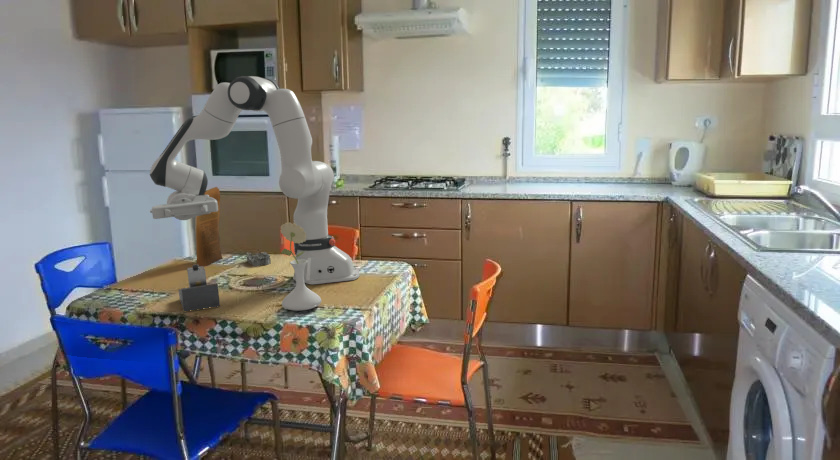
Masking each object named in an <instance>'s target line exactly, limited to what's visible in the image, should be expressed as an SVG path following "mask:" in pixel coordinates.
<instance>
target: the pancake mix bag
mask: <svg viewBox="0 0 840 460" xmlns="http://www.w3.org/2000/svg"><path fill="white" fill-rule="evenodd" d="M204 195H209V197H212V198H214V199H216V200H217V203H218V211H217V212H211V213H210V214H205V215H200V216H196V217H194V218H195V220H194V221H195V222H194V224H195V225H194V226H195V228H194V230H195V231H194V232H195V234H194V235H195V251H196V255H195V256H196V264H199V267H200V266H203V267H208V266H210V265H212V264H214V263H216V262H217V261H220V260H223V254H222V246H221V237H220V230H219V226H220V223H219V222H220V217H221V212H220V211H221V209H220V206H221V205H220V204H221V192H220V189H219V188H218V186H215V187H212V188H210V189H206V191H205V194H204Z"/></svg>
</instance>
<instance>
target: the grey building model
mask: <svg viewBox="0 0 840 460" xmlns="http://www.w3.org/2000/svg"><path fill="white" fill-rule="evenodd" d="M245 253H246V254H247V255H246V260H247V263H249V265H252V267H260V266H264V265H265V266H268V265H270V264H271V254H269V253H267V251H264V252H259V253H254V255H253V254H252V253H251V252H247V251H246V252H245Z"/></svg>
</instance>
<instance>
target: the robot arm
mask: <svg viewBox="0 0 840 460" xmlns="http://www.w3.org/2000/svg"><path fill="white" fill-rule="evenodd" d="M243 110H244V111H252V112H262V111H264V112H265V113H266V114H267V116H268V118H269V119H270V122H271V126H272V129H273V133H274V135H275V136H274V137H275V139H276V143H277V145H278V148H279V155H280V162H281V164H280V165H281V174H280V176H279V180H278V185H279V188H280V191H281V192H282V193H283V195H284V196H286V197H287V198H291V199H297V205H296V207H295V210H294V212H293V223H295V224H296V225H297V226H300V227H301V228H303V229H304V230H303V231H304V232H306V235H307V236H306V239H305V240H306V241H305V242H303V243H300V244H298V243H294V242H293V251H294V252H293V253H294V255H295V258H296V259H297V260H307V261H308V262H307V263H306V265H305V268H304V283H305V284H308V285H320V284H329V283H338V282H347V281H354V280H356V279H358V278H359V277H360V275H361V274H360V273H361V272H360V270H359V268H357V267H354V265H353V261H352V258H351V257H350V255H349V254H348V253H346V252H345V251H343V250H342V249H340V248H338V247H337V246H336V239H335V237H334V236H333V235H329V230H328V229H329V227H328V205H329V199H330V193H331V187H332V185H333V183H334V180H335V175H334V174H335V173H334V170H333V168H332V167H331V165H329V164H328V163H326V162H323V161H320V160H313V159H312V145H313V138H312V137H313V136H312V135H311V131H310V127H309V125H308V122H307V119H306V115H305V112H304V111H303V108H302V106H301V103H300V101H299V100H298V97H297V95H296V94H295V92H294V91H293V90H291V89H289V88H280V87H279V86H278V84H277V83H276V82H274V81H273V80H271V79H269V78H266V77H265V78H264V77H260V76H253V75H251V76H250V75H247V76H246V75H245V76H244V75H241V76H238V77H236V78H234V79H233V80H232V81H230V82H226V81H225V82H220V83H219V84H217V85H216V86H215V87H214V89H213V91H212V92H211V93H210V94H209V97H208V98H207V100H206V101H205V103H204V107H203V109H202V110H201V112H200V113H198V115H196V116H194V117H189V118H187V119H186V120H185V121H184V122H183V123H182V124H181V126H180V127H179V128H178V130H177V131H176V133H175V134H174V135H173V137H172V139H171V140H170V141H169V143H168V145H166V147H165V149H164V150H163V151H162V153H161V154H160V155H159V157H157V159H156V160H155V161H154V162H153V164H152V165H151V167H150V171H149V177H150V178H151V180H152V182H153V183H154V185H156V186H161V187H165V188H168V189H171V190H174V191H173V192H172V193H169V195H168V197H167V200H166V203H165V204H158V205H157V204H156V205H153V206H152V207H151V209H150V210H149V212H150V213H151V215H152V219H154V220H160V219H166V218H167V219H168V218H174V219H177V220H180V221H188V220H190V219H193V218H196V216H200V215H205V214H210V213H211V212H217V211H218V203H217V200H216V199H214V198H212V197H209V195H204V194H205V191H207V187H208V183H209V182H208V177H207V174H206V172H205V170H202V169H200V168H198V167H195V166H192V165H189V164H186V163H183V162H181V161H178V160H177V159H176V157H177V156H178V154H179V153H180V152H181V150H182V148H183V147H184V146H185V144H186V143H188V142H189V141H195V140H204V141H205V140H208V141H213V140H220V139H223V138H226V137H227V136H229V134H230V133H231V132H232V130H233V128H234V127H235V124H236V122H237V119H238V118H239V115H240V114H241V112H242V111H243ZM303 251H305V252H304V253H303V254H302V255H300V256H298V257H296V256H297V255H298V254H299V253H301V252H303ZM293 271H294V270H293ZM292 279H293V280H294V281H295V282H296V275H295V271H294V272H293V277H292Z"/></svg>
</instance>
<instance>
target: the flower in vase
mask: <svg viewBox="0 0 840 460" xmlns="http://www.w3.org/2000/svg"><path fill="white" fill-rule="evenodd" d="M303 230H304V229H303V228H301V227H300V226H297V225H296V224H295V223H294V222H285V223H283V224H281V225H280V234H281V235H282V236H283V237H284V238H285V239H286V240H287V241H289V249H287V248H284V249H282V250H281V252H280V254H282V255H286V256H288V257H290V256H292V257H293V258H294V259H293V260H291V261H289V264H290V265H291V267H292V268H293V271H295V275H296V281H295V287H294V289H292V291H291V292H289V293H288V294H287V295H286V296H285V297H284V298H283V299H282V302H281V306H282V307H283V308H284V309H285V310H289V311H297V312H299V311H301V312H302V311H307V310H311V309H315V308H317V307H318V306H320V305H321V303H322V302H323V301H322V299H321V296H320V295H318V293H316V292H314V291H313V290H311V289H310V288H308V287H307V286H306V283H304V268H305V265H306V263H307V262H308V261H307V260H297V259H296V257H298V256H300V255H302V254H303V253H304V252H305V251H303V252H301V253H299V254H298V255H297V256H296V255H295V253H294V252H293V250H292V242H293V244H294V243H298V244H300V243H303V242H305V241H306V240H305V239H306V236H307V235H306V232H304V231H303Z"/></svg>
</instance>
